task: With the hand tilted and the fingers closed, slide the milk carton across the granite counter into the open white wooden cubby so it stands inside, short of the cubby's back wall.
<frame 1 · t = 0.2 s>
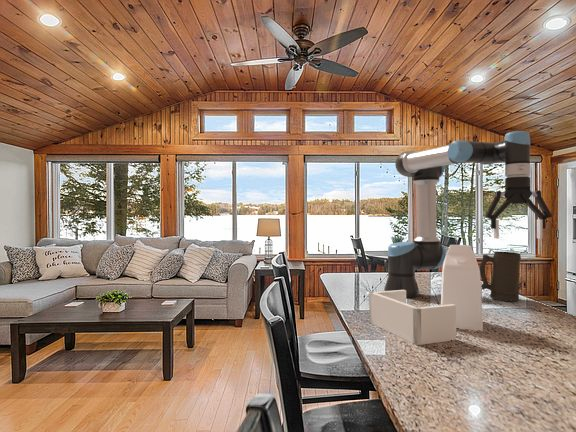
hand: (517, 238, 136), 28 cm above the kitchen island, tool pointing down, fingers open, 13 cm apart
cubby: (408, 330, 123), on the kitchen island
beer stein: (500, 300, 166), on the kitchen island
milk: (460, 325, 129), on the kitchen island
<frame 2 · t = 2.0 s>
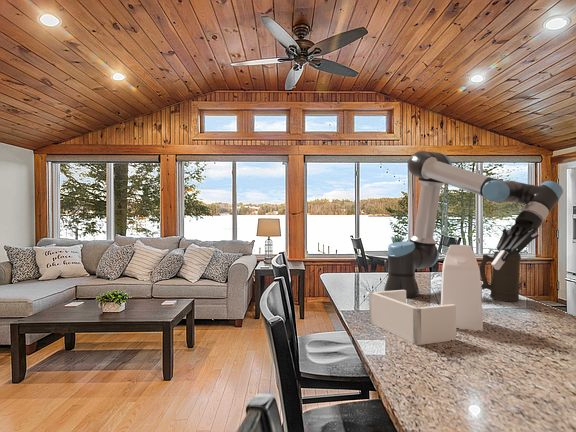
hand: (495, 266, 134), 18 cm above the kitchen island, tool tilted 45°, fingers closed
nothing on the kitchen island moved.
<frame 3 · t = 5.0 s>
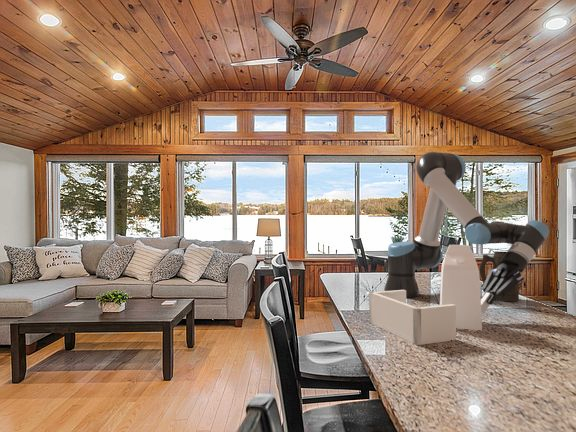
hand: (480, 309, 132), 4 cm above the kitchen island, tool tilted 45°, fingers closed
milk: (459, 325, 129), on the kitchen island, touching gripper
everything else where it was.
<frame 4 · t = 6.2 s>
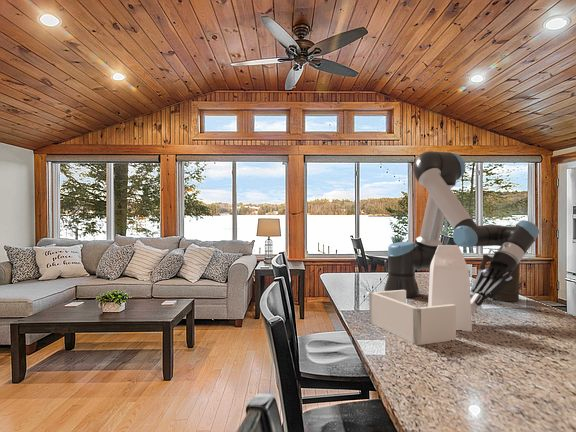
hand: (468, 311, 130), 4 cm above the kitchen island, tool tilted 45°, fingers closed
milk: (448, 325, 129), on the kitchen island, touching gripper
everything else where it was.
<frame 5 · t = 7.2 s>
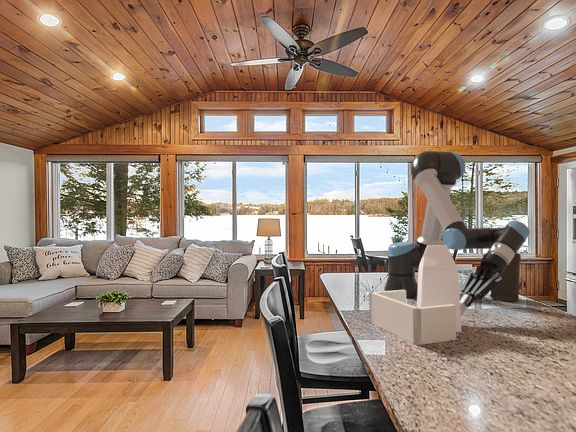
hand: (457, 312, 129), 4 cm above the kitchen island, tool tilted 45°, fingers closed
milk: (437, 326, 128), on the kitchen island, touching gripper
everything else where it was.
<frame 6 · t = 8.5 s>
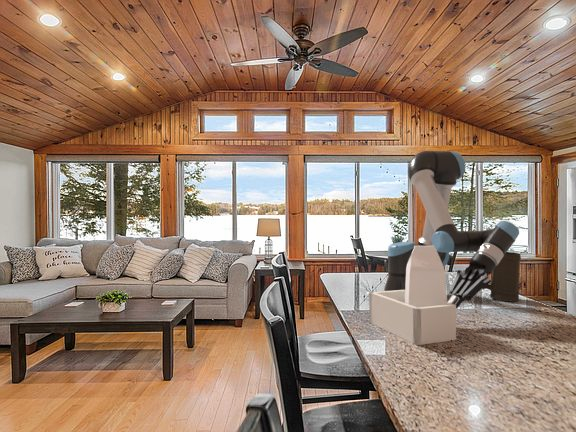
hand: (445, 313, 127), 4 cm above the kitchen island, tool tilted 45°, fingers closed
milk: (424, 327, 127), on the kitchen island, touching gripper
everything else where it was.
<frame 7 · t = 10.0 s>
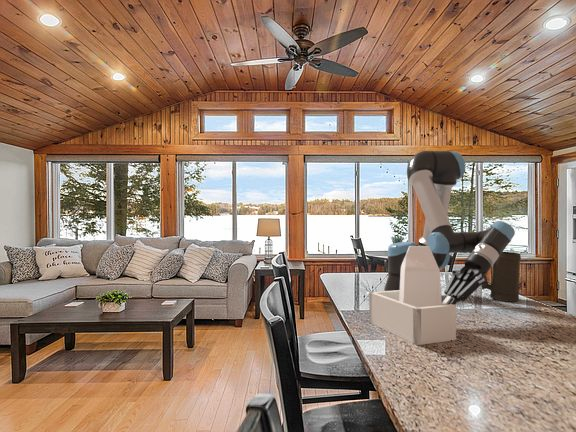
hand: (440, 314, 127), 4 cm above the kitchen island, tool tilted 45°, fingers closed
milk: (419, 328, 126), on the kitchen island, touching gripper
everything else where it was.
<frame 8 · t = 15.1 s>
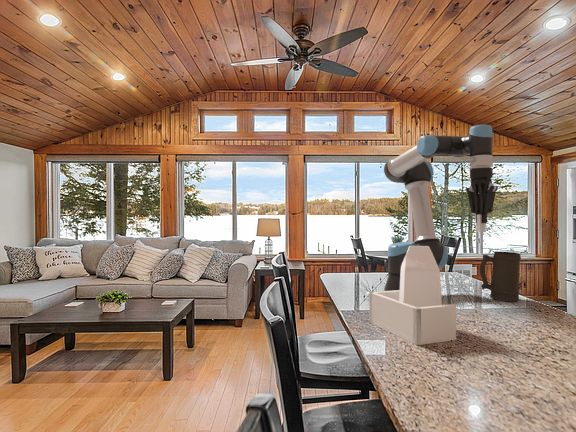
hand: (481, 232, 145), 29 cm above the kitchen island, tool pointing down, fingers closed
milk: (419, 328, 126), on the kitchen island
everything else where it was.
at the end: milk inside the target area (4.5 cm from its centre), on the kitchen island; milk tilted 0° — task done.
